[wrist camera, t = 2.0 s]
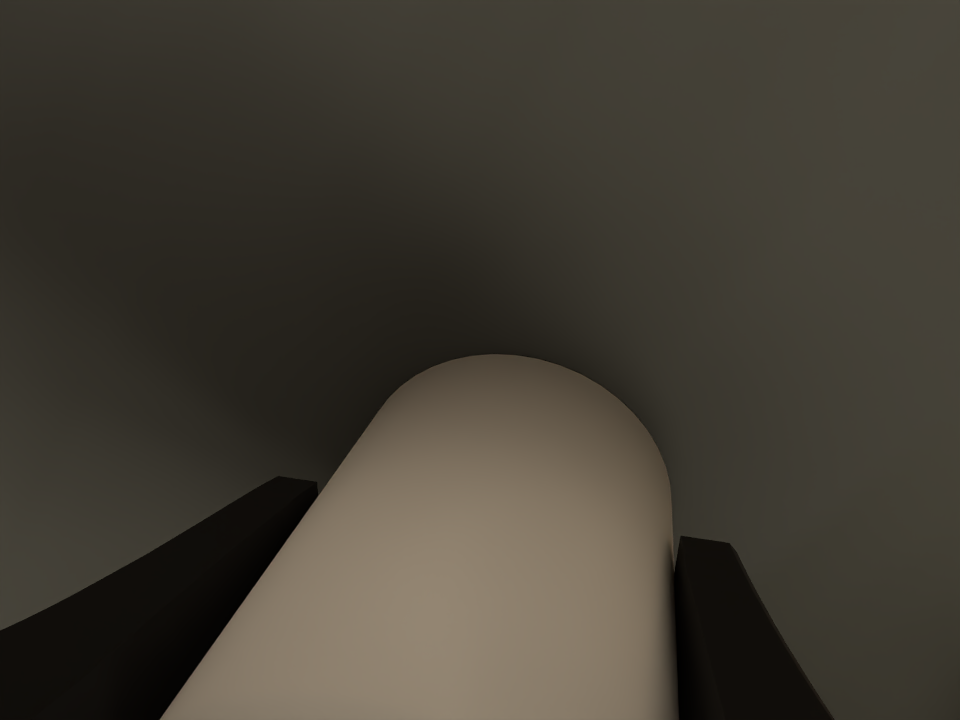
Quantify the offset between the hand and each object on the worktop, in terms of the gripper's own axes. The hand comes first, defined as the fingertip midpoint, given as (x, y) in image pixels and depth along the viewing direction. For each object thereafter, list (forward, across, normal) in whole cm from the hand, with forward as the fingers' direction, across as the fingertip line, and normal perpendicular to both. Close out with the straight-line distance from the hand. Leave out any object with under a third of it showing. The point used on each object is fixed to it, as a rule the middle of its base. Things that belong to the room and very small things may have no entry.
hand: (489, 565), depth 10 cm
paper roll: (+2, 0, 0) cm, 2 cm away
